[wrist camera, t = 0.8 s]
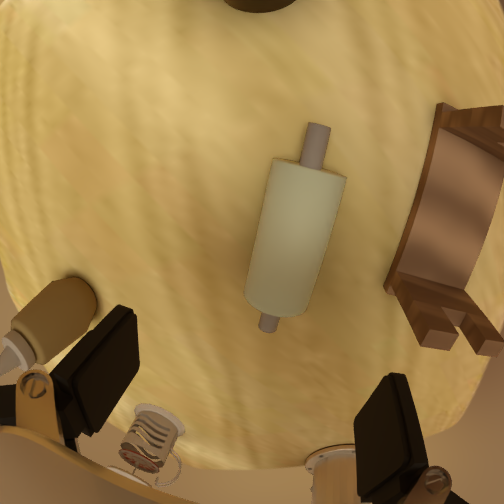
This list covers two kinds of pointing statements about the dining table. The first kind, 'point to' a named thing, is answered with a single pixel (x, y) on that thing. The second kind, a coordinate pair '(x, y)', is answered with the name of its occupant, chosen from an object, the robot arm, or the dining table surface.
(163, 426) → the french press
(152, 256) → the dining table surface
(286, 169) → the roll
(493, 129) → the holder
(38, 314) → the squeeze bottle
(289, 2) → the water bottle
